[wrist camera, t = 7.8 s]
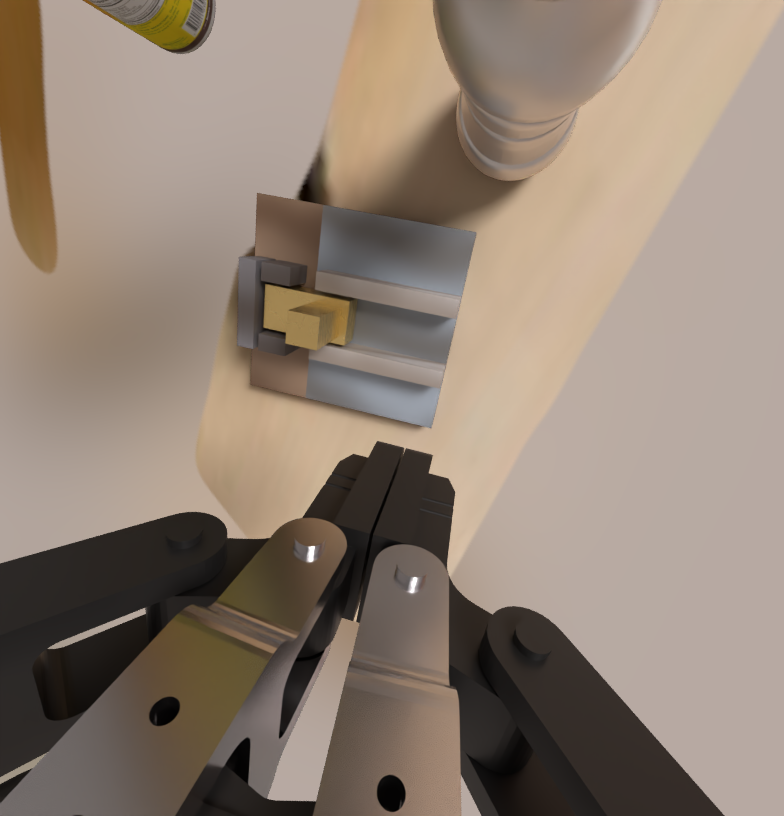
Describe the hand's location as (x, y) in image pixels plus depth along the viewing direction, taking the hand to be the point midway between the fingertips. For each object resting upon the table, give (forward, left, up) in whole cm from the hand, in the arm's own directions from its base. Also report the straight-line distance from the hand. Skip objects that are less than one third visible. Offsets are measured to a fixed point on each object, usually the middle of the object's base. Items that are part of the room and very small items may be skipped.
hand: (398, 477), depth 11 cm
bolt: (0, -10, -19) cm, 22 cm away
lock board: (0, -7, -21) cm, 22 cm away
